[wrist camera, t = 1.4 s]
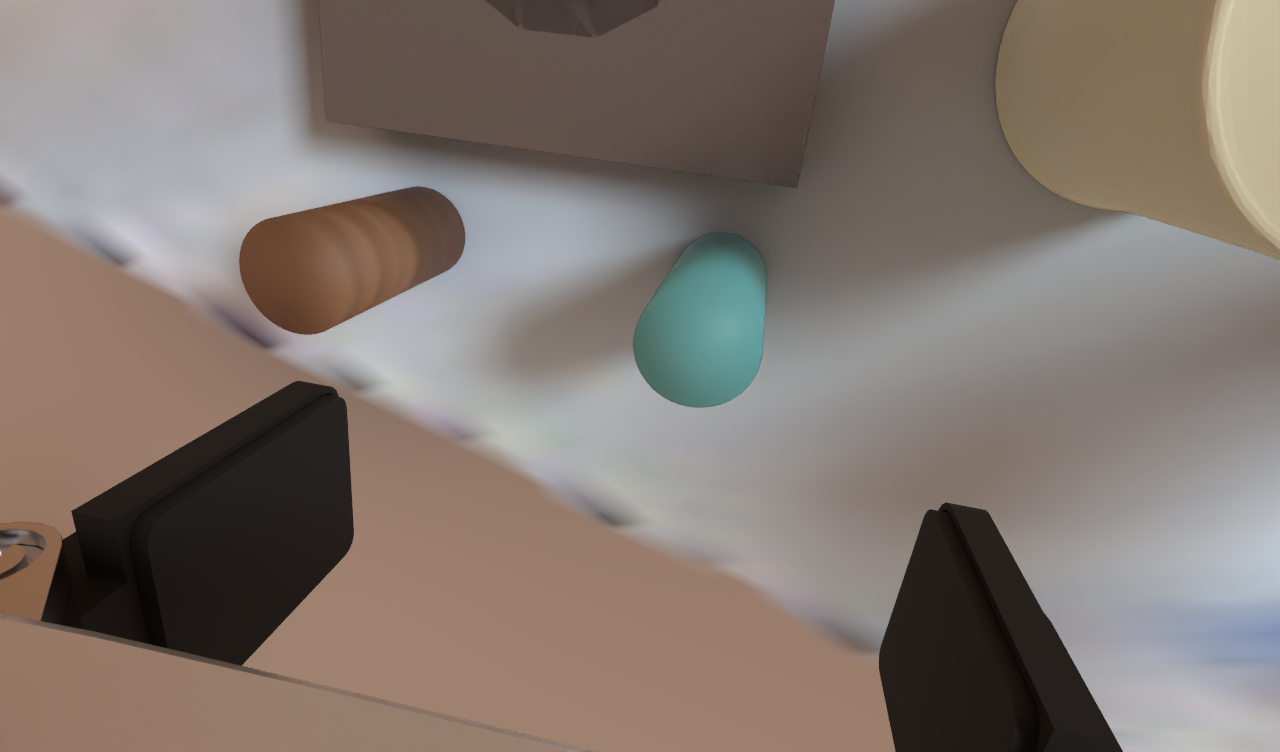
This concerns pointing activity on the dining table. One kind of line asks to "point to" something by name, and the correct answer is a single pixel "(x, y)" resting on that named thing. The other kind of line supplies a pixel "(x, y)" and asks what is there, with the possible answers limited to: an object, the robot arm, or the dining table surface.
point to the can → (1150, 109)
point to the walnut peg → (348, 256)
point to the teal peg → (705, 323)
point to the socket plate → (587, 77)
